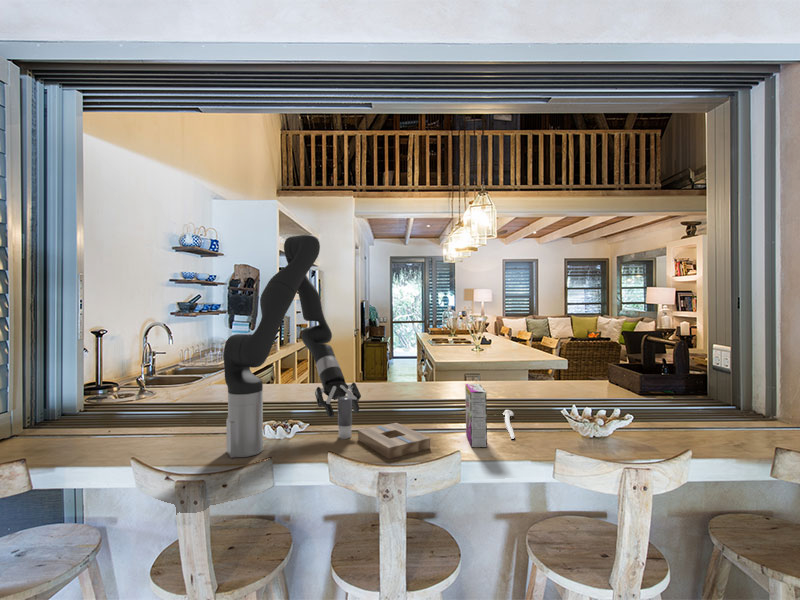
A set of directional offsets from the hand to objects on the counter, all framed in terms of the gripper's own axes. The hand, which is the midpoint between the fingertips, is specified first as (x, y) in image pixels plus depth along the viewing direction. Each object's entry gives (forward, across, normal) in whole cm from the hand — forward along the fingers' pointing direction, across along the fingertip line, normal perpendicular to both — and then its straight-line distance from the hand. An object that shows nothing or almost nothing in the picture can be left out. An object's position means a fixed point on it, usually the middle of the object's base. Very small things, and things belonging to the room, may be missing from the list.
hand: (345, 414), depth 129 cm
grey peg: (+5, 0, +5) cm, 7 cm away
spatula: (+21, +51, -10) cm, 56 cm away
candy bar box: (+24, +31, -13) cm, 41 cm away
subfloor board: (+15, +9, -5) cm, 18 cm away
